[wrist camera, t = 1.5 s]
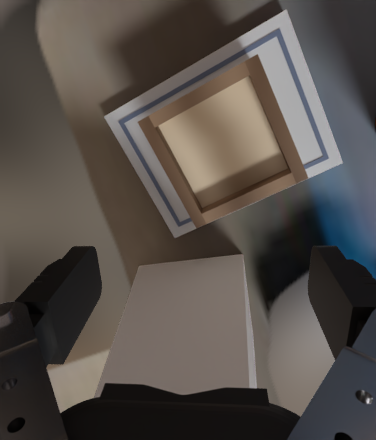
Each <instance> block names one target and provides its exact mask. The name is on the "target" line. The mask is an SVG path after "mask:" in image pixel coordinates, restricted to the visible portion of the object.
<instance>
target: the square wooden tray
mask: <svg viewBox="0 0 376 440" xmlns="http://www.w3.org/2000/svg"><path fill="white" fill-rule="evenodd" d="M138 124H139V126H140V128H141V129H142V131H143V133H144V135H145V137H146V138H147V140H148V142H149V144H150V146H151V147H152V149H153V151H154V153H155V155H156V156H157V158H158V160H159V162H160V164H161V165H162V167H163V169H164V171H165V173H166V174H167V176H168V178H169V180H170V182H171V184H172V185H173V187H174V189H175V191H176V193H177V194H178V196H179V198H180V200H181V202H182V203H183V205H184V207H185V209H186V211H187V212H188V214H189V216H190V218H191V220H192V221H193V223H194V225H195V227H196V228H199V227H201V226H203V225H205V224H208V223H210V222H212V221H214V220H216V219H219V218H221V217H223V216H225V215H228V214H230V213H232V212H234V211H237V210H239V209H241V208H243V207H245V206H248V205H250V204H252V203H254V202H257V201H259V200H261V199H263V198H266V197H268V196H270V195H272V194H274V193H277V192H279V191H281V190H283V189H286V188H288V187H290V186H292V185H295V184H297V183H299V182H301V181H303V180H306V179H308V176H307V173H306V171H305V168H304V166H303V163H302V161H301V158H300V156H299V154H298V151H297V149H296V146H295V144H294V141H293V139H292V136H291V134H290V132H289V129H288V127H287V124H286V122H285V119H284V117H283V114H282V112H281V110H280V107H279V105H278V102H277V100H276V97H275V95H274V92H273V90H272V88H271V85H270V83H269V80H268V78H267V75H266V73H265V70H264V68H263V66H262V63H261V61H260V58H259V56H258V54H257V55H255V56H253V57H251V58H250V59H248V60H246V61H244V62H242V63H241V64H239V65H237V66H235V67H234V68H232V69H230V70H228V71H227V72H225V73H223V74H221V75H219V76H218V77H216V78H214V79H212V80H211V81H209V82H207V83H205V84H204V85H202V86H200V87H198V88H197V89H195V90H193V91H191V92H189V93H188V94H186V95H184V96H182V97H181V98H179V99H177V100H175V101H174V102H172V103H170V104H168V105H166V106H165V107H163V108H161V109H159V110H158V111H156V112H154V113H152V114H151V115H149V116H147V117H145V118H143V119H142V120H140V121H138Z"/></svg>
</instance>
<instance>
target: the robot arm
mask: <svg viewBox="0 0 376 440" xmlns="http://www.w3.org/2000/svg"><path fill="white" fill-rule="evenodd" d="M101 289H102V282H101V276H100V270H99V264H98V257H97V252H96V249H95V247H93V246H74V247H72V248H71V249H70V250H69V252H68V253H67V254H66V255H65V256H64V257H63V258H62V259H59V260H57V261H55V262H53V263H52V264H50V265H48V266H47V267H46V268H45V269H44V270H43V271H42V272H41V274H40V276H38V277H37V278H36V279H35V280H34V282H32V283H31V284H30V285H29V286H28V287H27V288H26V290H25V291H24V292H23V293H22V294H21V295H20V296H19V297H18V298H17V299H16V300H15V301H14V302H6V303H2V304H0V440H376V280H375V279H374V278H372V275H371V274H370V272H369V271H368V270H367V269H366V268H365V267H364V266H362V265H361V264H359V263H358V262H356V261H354V260H347V259H346V258H345V257H344V255H343V254H342V253H341V251H340V250H339V249H338V247H337V246H314V247H313V248H312V252H311V261H310V270H309V280H308V295H309V299H310V302H311V305H312V307H313V309H314V312H315V314H316V316H317V319H318V321H319V323H320V326H321V328H322V330H323V333H324V335H325V337H326V339H327V342H328V344H329V347H330V349H331V351H332V354H333V356H334V358H335V362H334V364H333V365H332V367H331V368H330V370H329V372H328V373H327V375H326V377H325V379H324V380H323V382H322V383H321V385H320V386H319V388H318V390H317V391H316V393H315V395H314V396H313V398H312V399H311V401H310V403H309V405H308V406H307V408H306V409H305V411H304V413H303V414H302V416H301V417H300V416H298V415H297V414H295V413H293V412H291V411H289V410H287V409H285V408H283V407H280V406H277V405H274V404H271V403H269V400H268V393H267V389H259V388H231V387H225V388H219V389H214V390H209V391H204V392H198V393H193V394H188V395H180V394H176V393H173V392H169V391H165V390H162V389H158V388H155V387H151V386H148V385H144V384H119V383H105V385H104V387H103V390H102V393H101V395H100V397H96V398H92V399H89V400H86V401H83V402H81V403H78V404H76V405H74V406H72V407H70V408H68V409H67V410H65V411H63V412H62V413H60V411H59V408H58V404H57V401H56V398H55V395H54V391H53V388H52V385H51V382H50V378H49V375H48V372H47V369H46V367H47V365H48V364H64V362H65V360H66V358H67V356H68V355H69V353H70V350H71V349H72V347H73V346H74V344H75V342H76V340H77V338H78V336H79V335H80V333H81V331H82V329H83V327H84V326H85V324H86V322H87V320H88V318H89V316H90V315H91V313H92V311H93V309H94V307H95V306H96V304H97V302H98V300H99V298H100V295H101Z"/></svg>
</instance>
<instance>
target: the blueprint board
mask: <svg viewBox="0 0 376 440" xmlns="http://www.w3.org/2000/svg"><path fill="white" fill-rule="evenodd" d="M257 54H258V56H259V58H260V61H261V63H262V66H263V68H264V70H265V73H266V75H267V78H268V80H269V83H270V85H271V88H272V90H273V92H274V95H275V97H276V100H277V102H278V105H279V107H280V110H281V112H282V114H283V117H284V119H285V122H286V124H287V127H288V129H289V132H290V134H291V136H292V139H293V141H294V144H295V146H296V149H297V151H298V154H299V156H300V158H301V161H302V163H303V166H304V168H305V171H306V173H307V176H308V178H310V177H313V176H315V175H317V174H319V173H322V172H324V171H326V170H328V169H331V168H333V167H335V166H337V165H340V164H342V163H343V162H342V159H341V156H340V153H339V151H338V148H337V145H336V143H335V140H334V137H333V134H332V132H331V129H330V126H329V124H328V121H327V118H326V115H325V113H324V110H323V107H322V105H321V102H320V99H319V96H318V94H317V91H316V88H315V86H314V83H313V80H312V77H311V75H310V72H309V69H308V66H307V64H306V61H305V58H304V56H303V53H302V50H301V47H300V45H299V42H298V39H297V37H296V34H295V31H294V28H293V26H292V23H291V20H290V18H289V15H288V12H287V9H286V10H285V11H283V12H281V13H279V14H278V15H276V16H274V17H273V18H271V19H269V20H268V21H266V22H264V23H262V24H261V25H259V26H257V27H256V28H254V29H252V30H251V31H249V32H247V33H245V34H244V35H242V36H240V37H239V38H237V39H235V40H233V41H232V42H230V43H228V44H227V45H225V46H223V47H222V48H220V49H218V50H216V51H215V52H213V53H211V54H210V55H208V56H206V57H205V58H203V59H201V60H199V61H198V62H196V63H194V64H193V65H191V66H189V67H188V68H186V69H184V70H182V71H181V72H179V73H177V74H176V75H174V76H172V77H170V78H169V79H167V80H165V81H164V82H162V83H160V84H159V85H157V86H155V87H153V88H152V89H150V90H148V91H147V92H145V93H143V94H142V95H140V96H138V97H136V98H135V99H133V100H131V101H130V102H128V103H126V104H125V105H123V106H121V107H119V108H118V109H116V110H114V111H113V112H111V113H109V114H108V115H106V116H104V118H105V119H106V121H107V123H108V125H109V126H110V128H111V130H112V131H113V133H114V135H115V137H116V138H117V140H118V142H119V143H120V145H121V147H122V149H123V150H124V152H125V154H126V155H127V157H128V159H129V161H130V162H131V164H132V166H133V167H134V169H135V171H136V173H137V174H138V176H139V178H140V179H141V181H142V183H143V185H144V186H145V188H146V190H147V191H148V193H149V195H150V197H151V198H152V200H153V202H154V203H155V205H156V207H157V209H158V210H159V212H160V214H161V215H162V217H163V219H164V221H165V222H166V224H167V226H168V227H169V229H170V231H171V233H172V234H173V236H174V238H177V237H179V236H181V235H183V234H186V233H188V232H190V231H192V230H194V229H197V228H196V227H195V225H194V223H193V221H192V220H191V218H190V216H189V214H188V212H187V211H186V209H185V207H184V205H183V203H182V202H181V200H180V198H179V196H178V194H177V193H176V191H175V189H174V187H173V185H172V184H171V182H170V180H169V178H168V176H167V174H166V173H165V171H164V169H163V167H162V165H161V164H160V162H159V160H158V158H157V156H156V155H155V153H154V151H153V149H152V147H151V146H150V144H149V142H148V140H147V138H146V137H145V135H144V133H143V131H142V129H141V128H140V126H139V124H138V121H140V120H142V119H143V118H145V117H147V116H149V115H151V114H152V113H154V112H156V111H158V110H159V109H161V108H163V107H165V106H166V105H168V104H170V103H172V102H174V101H175V100H177V99H179V98H181V97H182V96H184V95H186V94H188V93H189V92H191V91H193V90H195V89H197V88H198V87H200V86H202V85H204V84H205V83H207V82H209V81H211V80H212V79H214V78H216V77H218V76H219V75H221V74H223V73H225V72H227V71H228V70H230V69H232V68H234V67H235V66H237V65H239V64H241V63H242V62H244V61H246V60H248V59H250V58H251V57H253V56H255V55H257ZM303 181H304V180H303ZM301 182H302V181H301ZM292 186H293V185H292ZM283 190H284V189H283ZM274 194H275V193H274ZM272 195H273V194H272ZM263 199H264V198H263ZM254 203H255V202H254ZM245 207H246V206H245ZM243 208H244V207H243ZM234 212H235V211H234ZM225 216H226V215H225ZM216 220H217V219H216ZM214 221H215V220H214ZM205 225H206V224H205Z"/></svg>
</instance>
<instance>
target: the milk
mask: <svg viewBox="0 0 376 440" xmlns="http://www.w3.org/2000/svg"><path fill="white" fill-rule="evenodd" d="M105 383H119V384H144V385H148V386H151V387H155V388H158V389H162V390H165V391H169V392H173V393H176V394H180V395H188V394H193V393H198V392H204V391H209V390H214V389H219V388H225V387H231V388H257V384H256V369H255V355H254V341H253V331H252V323H251V315H250V307H249V299H248V291H247V283H246V275H245V267H244V259H243V254H239V255H230V256H221V257H212V258H203V259H194V260H185V261H176V262H167V263H158V264H149V265H140V266H139V267H138V270H137V273H136V276H135V279H134V281H133V284H132V287H131V290H130V293H129V296H128V299H127V302H126V305H125V308H124V311H123V314H122V317H121V320H120V323H119V326H118V328H117V331H116V335H115V337H114V340H113V343H112V346H111V349H110V352H109V355H108V358H107V361H106V364H105V367H104V370H103V373H102V375H101V378H100V381H99V384H98V387H97V390H96V393H95V396H94V398H96V397H100V395H101V393H102V390H103V387H104V385H105Z"/></svg>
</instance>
